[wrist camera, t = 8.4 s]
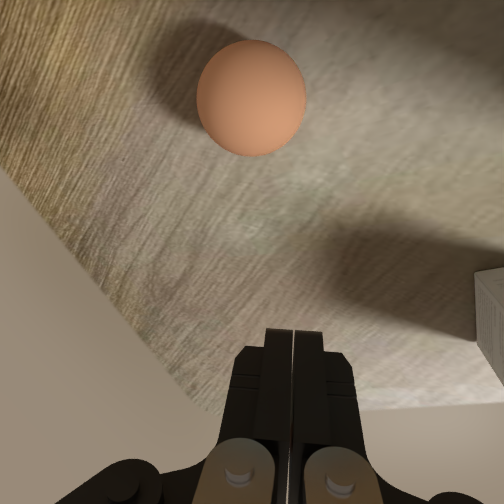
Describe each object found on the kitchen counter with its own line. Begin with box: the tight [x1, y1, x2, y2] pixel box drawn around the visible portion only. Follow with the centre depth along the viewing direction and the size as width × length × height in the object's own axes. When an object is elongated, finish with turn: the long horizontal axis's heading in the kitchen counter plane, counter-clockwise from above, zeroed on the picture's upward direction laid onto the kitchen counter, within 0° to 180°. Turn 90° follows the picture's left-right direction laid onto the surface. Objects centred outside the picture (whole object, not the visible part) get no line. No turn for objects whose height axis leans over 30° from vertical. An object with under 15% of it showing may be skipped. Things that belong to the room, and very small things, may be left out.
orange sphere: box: [197, 40, 306, 157], centre depth 21 cm, size 5×5×5 cm
